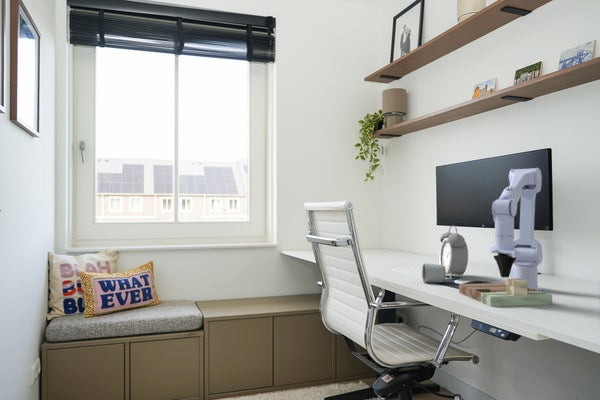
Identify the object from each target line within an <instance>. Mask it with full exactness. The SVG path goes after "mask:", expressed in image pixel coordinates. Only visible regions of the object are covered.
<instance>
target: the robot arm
mask: <svg viewBox="0 0 600 400" xmlns="http://www.w3.org/2000/svg"><path fill="white" fill-rule="evenodd" d="M542 178H543V176H542V171H541V169H540V168H539V167H535V168H534V167H532V168H517V169H516V168H511V169H510V170H509V174H508V182H509V186H506V187H505V188H504V189H503V191H502V192H501V195H500V196H499V198H498V199H495V200H494V201H493V202H492V205H491V212H492V217H493V218H492V219H493V222H494V244H495V245H494V246H491V247H490V253H491V254H497V255H493V259H494V260H495V262H496V264H497V267H498V271H499V274H500V278H509V277H510V278H520V279H523V280H527V287H528V288H531V289H535V290H538V291H541V292H543V291H544V289H543V288H540V287H538V266H539V265H541V263H542V262H543V247H542V244H541V242H540V241H538V240H537V239H536V238H534V236H535V235H534V233H535V232H534V231H535V214H536V213H535V211H536V197H537V194H538V193H539V192H541V190H542ZM519 201H520V209H519V211H520V213H519V214H520V215H519V231H518V232H519V235H518V237H517V238H516V239H515V216H516V215H517V210H518V202H519Z"/></svg>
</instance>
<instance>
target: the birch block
mask: <svg viewBox="0 0 600 400" xmlns="http://www.w3.org/2000/svg"><path fill="white" fill-rule="evenodd" d="M505 283H506V293H508V294H511V295H527V280H523V279H520V278H511V277H510V278H509V277H507V278H505Z"/></svg>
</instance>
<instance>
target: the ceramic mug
mask: <svg viewBox="0 0 600 400" xmlns="http://www.w3.org/2000/svg"><path fill="white" fill-rule="evenodd" d="M421 275H422V278H421V279H422V282H423V283H425V284H427V283H430V284H440V283H444V282H445V281H446V276H447V274H446V270H445V267H444V266H443V265H440V264H439V263H426V262H425V263H423V265H422V269H421Z"/></svg>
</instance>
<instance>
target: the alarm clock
mask: <svg viewBox="0 0 600 400" xmlns="http://www.w3.org/2000/svg"><path fill="white" fill-rule="evenodd" d="M451 228H455V233H453V232H451ZM448 229H449V230H448V231H447V232H444V233H442V234H441V236H440V239H439V241H440V243H441V244H440V248H439V252H438V254H439V255H438V256H439V257H438V259H439V260H438V262H439V263H438V264H439V265H443V266H444V267H445V270H446V275H448V276H449V279H450V280H451V279H452V275H456V276H457V277H460V276H463V275H464V274H465V272H466V270H467V266H468V262H469V249H468V244H467V242H466V241H465V237H463V235H461V234H460V233H458V228H457V227H456V226H455V225H450V227H449V228H448Z"/></svg>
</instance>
